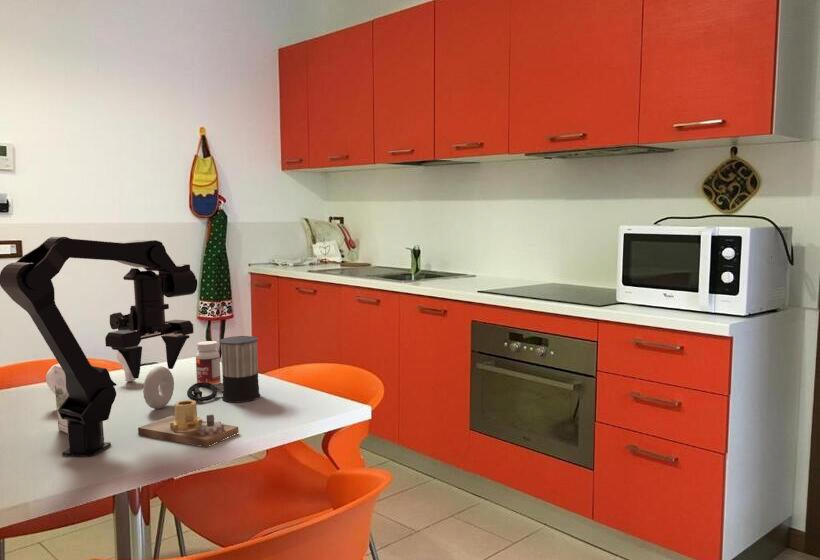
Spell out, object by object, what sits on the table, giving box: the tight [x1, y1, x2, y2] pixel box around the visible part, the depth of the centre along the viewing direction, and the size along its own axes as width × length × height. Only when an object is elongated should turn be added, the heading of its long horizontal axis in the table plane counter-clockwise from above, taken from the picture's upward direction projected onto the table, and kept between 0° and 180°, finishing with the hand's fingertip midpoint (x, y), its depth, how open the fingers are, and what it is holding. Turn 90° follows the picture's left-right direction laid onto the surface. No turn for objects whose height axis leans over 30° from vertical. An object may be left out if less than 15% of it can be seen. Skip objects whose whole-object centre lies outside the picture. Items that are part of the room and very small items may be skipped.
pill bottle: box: [195, 340, 222, 386], centre depth 183 cm, size 6×6×11 cm
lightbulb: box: [115, 350, 136, 383], centre depth 187 cm, size 6×6×11 cm
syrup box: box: [52, 363, 69, 435], centre depth 145 cm, size 6×6×14 cm
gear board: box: [137, 414, 240, 448], centre depth 141 cm, size 19×9×6 cm, turn 63°
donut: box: [142, 365, 175, 410], centre depth 161 cm, size 10×4×10 cm, turn 168°
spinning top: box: [45, 365, 56, 396], centre depth 164 cm, size 8×8×12 cm
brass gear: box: [170, 399, 203, 431], centre depth 141 cm, size 6×6×5 cm
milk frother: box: [186, 335, 261, 403], centre depth 168 cm, size 14×16×15 cm
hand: (153, 373), depth 144 cm, fingers open, 9 cm apart
